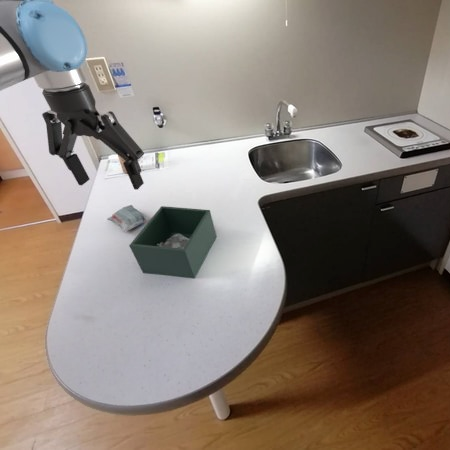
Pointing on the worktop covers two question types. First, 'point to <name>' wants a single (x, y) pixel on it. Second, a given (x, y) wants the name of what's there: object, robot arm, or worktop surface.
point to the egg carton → (175, 242)
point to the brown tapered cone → (122, 164)
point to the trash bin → (165, 228)
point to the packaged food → (128, 218)
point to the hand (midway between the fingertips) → (111, 184)
